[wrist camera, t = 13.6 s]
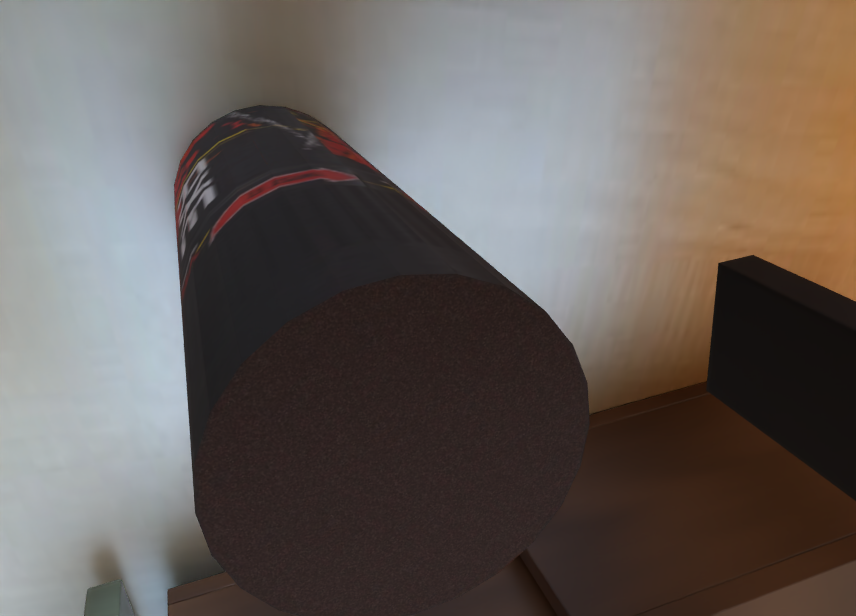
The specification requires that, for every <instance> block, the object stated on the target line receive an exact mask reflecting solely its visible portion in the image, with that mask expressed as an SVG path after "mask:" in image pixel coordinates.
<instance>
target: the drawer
mask: <svg viewBox="0 0 856 616" xmlns="http://www.w3.org/2000/svg"><path fill="white" fill-rule="evenodd" d="M167 594H168V616H297V615H293V614H290V613H286V612H282V611H278V610H277V609H275V608H273V607H272V606H270V605H268V604H266V603H265V602H263V601H261V600H260V599H258V598H256V597H255V596H253V595H251V594H249V593H248V592H246V591H244V590H243V589H241V588H240V587H239V586H238V585H237V584H236V583H235V581H234V580H233V579H232V578H231V577H230V576H229V575H228V573H227V572H223V573H220V574H217V575H214V576H210V577H207V578H204V579H200V580H197V581H194V582H190V583H187V584H184V585H181V586H177V587H174V588H171V589H168V591H167ZM84 616H135V615H134V612H133V609H132V607H131V604H130V601H129V598H128V596H127V593H126V590H125V588H124V585H123V582H122V580H121V579H119V580H116V581H113V582H109V583H106V584H102V585H99V586H96V587H92V588H89V589H87V594H86V602H85V611H84ZM410 616H557V614H556V612H555V611H554V609H553V608H552V606H551V604H550V603H549V601H548V600H547V598H546V597H545V595H544V593H543V592H542V590H541V589H540V587H539V585H538V584H537V582H536V581H535V579H534V577H533V576H532V574H531V573H530V571H529V570H528V568H527V566H526V565H525V563H524V562H523V560H522V558H521V557H520V555H518V556H517V557H516V558H515V559H514V560H513V561H512V562H511V563H509V564H508V565H507V566H506V567H505V568H504V569H503V570H502V571H501V572H499V573H498V574H496V575H495V576H493V577H491V578H490V579H488V580H486V581H485V582H483V583H481V584H480V585H478V586H477V587H475V588H473V589H472V590H470V591H468V592H467V593H465V594H463V595H462V596H460V597H458V598H456V599H453V600H451V601H448V602H445V603H443V604H440V605H438V606H435V607H433V608H430V609H428V610H425V611H422V612H420V613H417V614H415V615H410Z"/></svg>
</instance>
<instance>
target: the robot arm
mask: <svg viewBox="0 0 856 616" xmlns="http://www.w3.org/2000/svg"><path fill="white" fill-rule="evenodd" d="M706 391H708V392H709V393H710V394H712V395H713V396H715V397H716V398H717V399H719V400H720V401H721V402H723V403H724V404H725V405H727V406H728V407H729V408H731V409H732V410H733V411H735V412H736V413H737V414H739V415H740V416H742V417H743V418H744V419H746V420H747V421H748V422H750V423H751V424H752V425H754V426H755V427H756V428H758V429H759V430H760V431H762V432H763V433H764V434H766V435H767V436H768V437H770V438H771V439H773V440H774V441H775V442H777V443H778V444H779V445H781V446H782V447H783V448H785V449H786V450H787V451H789V452H790V453H791V454H793V455H794V456H795V457H797V458H798V459H800V460H801V461H802V462H804V463H805V464H806V465H808V466H809V467H810V468H812V469H813V470H814V471H816V472H817V473H818V474H820V475H821V476H822V477H824V478H825V479H826V480H828V481H829V482H831V483H832V484H833V485H835V486H836V487H837V488H839V489H840V490H841V491H843V492H844V493H845V494H847V495H848V496H849V497H851V498H852V499H853V500H855V501H856V301H853V300H851V299H849V298H847V297H845V296H842V295H840V294H838V293H836V292H834V291H831V290H829V289H827V288H825V287H823V286H820V285H818V284H816V283H814V282H812V281H809V280H807V279H805V278H803V277H800V276H798V275H796V274H794V273H792V272H789V271H787V270H785V269H783V268H781V267H778V266H776V265H774V264H772V263H770V262H767V261H765V260H763V259H761V258H759V257H756V256H754V255H751V256H747V257H742V258H738V259H734V260H730V261H725V262H721V263H718V274H717V284H716V294H715V305H714V315H713V326H712V336H711V346H710V357H709V367H708V377H707V388H706Z"/></svg>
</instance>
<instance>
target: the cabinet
mask: <svg viewBox="0 0 856 616" xmlns="http://www.w3.org/2000/svg"><path fill="white" fill-rule="evenodd" d="M706 388H707V382H704V383H700V384H697V385H693V386H690V387H686V388H683V389H679V390H676V391H672V392H669V393H665V394H662V395H658V396H655V397H651V398H648V399H644V400H641V401H637V402H634V403H630V404H627V405H623V406H619V407H616V408H612V409H609V410H605V411H602V412H598V413H595V414H591V415H589V423H590V425H589V429H588V434H587V439H586V443H585V448H584V453H583V457H582V462H581V466H580V468H579V470H578V472H577V474H576V476H575V479H574V481H573V483H572V485H571V487H570V489H569V491H568V493H567V495H566V497H565V499H564V502H563V504H562V506H561V507H560V508H559V510H558V511H557V512H556V514H555V515H554V516H553V517H552V519H551V520H550V521H549V523H548V524H547V525H546V527H545V528H544V529H543V531H542V532H541V533H540V534H539V536H538V537H537V538H536V540H535V541H534V542H533V543H532V544H531V545H530V546H529V547H527V548H526V549H525V550H524V551H523V552H522V553H521V554H520V557H521V558H522V560H523V562H524V563H525V565H526V566H527V568H528V570H529V571H530V573H531V574H532V576H533V577H534V579H535V581H536V582H537V584H538V585H539V587H540V589H541V590H542V592H543V593H544V595H545V597H546V598H547V600H548V601H549V603H550V604H551V606H552V608H553V609H554V611H555V612H556V614H557V616H856V501H855V500H853V499H852V498H851V497H849V496H848V495H847V494H845V493H844V492H843V491H841V490H840V489H839V488H837V487H836V486H835V485H833V484H832V483H831V482H829V481H828V480H826V479H825V478H824V477H822V476H821V475H820V474H818V473H817V472H816V471H814V470H813V469H812V468H810V467H809V466H808V465H806V464H805V463H804V462H802V461H801V460H800V459H798V458H797V457H795V456H794V455H793V454H791V453H790V452H789V451H787V450H786V449H785V448H783V447H782V446H781V445H779V444H778V443H777V442H775V441H774V440H773V439H771V438H770V437H768V436H767V435H766V434H764V433H763V432H762V431H760V430H759V429H758V428H756V427H755V426H754V425H752V424H751V423H750V422H748V421H747V420H746V419H744V418H743V417H742V416H740V415H739V414H737V413H736V412H735V411H733V410H732V409H731V408H729V407H728V406H727V405H725V404H724V403H723V402H721V401H720V400H719V399H717V398H716V397H715V396H713V395H712V394H710V393H709V392H708V391H706Z"/></svg>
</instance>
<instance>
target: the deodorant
mask: <svg viewBox="0 0 856 616" xmlns="http://www.w3.org/2000/svg"><path fill="white" fill-rule="evenodd" d="M174 195H175V218H176V233H177V248H178V262H179V277H180V292H181V307H182V322H183V337H184V352H185V367H186V382H187V397H188V411H189V426H190V441H191V456H192V471H193V486H194V501H195V514H196V516H197V519H198V521H199V524H200V527H201V529H202V532H203V534H204V537H205V539H206V542H207V544H208V547H209V550H210V552H211V555H212V556H213V557H214V559H215V560H216V561H217V562H218V563H219V564H220V565H221V567H222V568H223V569H224V570H225V571H226V572H227V573H228V575H229V576H230V577H231V578H232V579H233V580H234V581H235V583H236V584H237V585H238V586H239V587H240V588H241V589H243V590H244V591H246V592H248V593H249V594H251V595H253V596H255V597H256V598H258V599H260V600H261V601H263V602H265V603H266V604H268V605H270V606H272V607H273V608H275V609H277V610H278V611H282V612H286V613H290V614H293V615H297V616H410V615H415V614H417V613H420V612H422V611H425V610H428V609H430V608H433V607H435V606H438V605H440V604H443V603H445V602H448V601H451V600H453V599H456V598H458V597H460V596H462V595H463V594H465V593H467V592H468V591H470V590H472V589H473V588H475V587H477V586H478V585H480V584H481V583H483V582H485V581H486V580H488V579H490V578H491V577H493V576H495V575H496V574H498V573H499V572H501V571H502V570H503V569H504V568H505V567H506V566H507V565H508V564H509V563H511V562H512V561H513V560H514V559H515V558H516V557H517V556H518V555H520V554H521V553H522V552H523V551H524V550H525V549H526V548H527V547H529V546H530V545H531V544H532V543H533V542H534V541H535V540H536V538H537V537H538V536H539V534H540V533H541V532H542V531H543V529H544V528H545V527H546V525H547V524H548V523H549V521H550V520H551V519H552V517H553V516H554V515H555V514H556V512H557V511H558V510H559V508H560V507H561V506H562V504H563V502H564V499H565V497H566V495H567V493H568V491H569V489H570V487H571V485H572V483H573V481H574V479H575V476H576V474H577V472H578V470H579V468H580V466H581V462H582V457H583V453H584V448H585V443H586V439H587V434H588V429H589V425H590V423H589V405H588V387H587V381H586V378H585V376H584V373H583V370H582V368H581V365H580V362H579V360H578V357H577V354H576V352H575V349H574V347H573V344H572V343H571V342H570V341H569V340H568V338H567V337H566V336H565V335H564V333H563V332H562V331H561V330H560V328H559V327H558V326H557V325H556V323H555V322H554V321H553V320H552V319H551V317H550V316H549V315H548V314H547V312H546V311H545V310H543V309H542V308H541V307H540V306H539V305H538V304H536V303H535V302H534V301H533V300H532V299H530V298H529V297H528V296H527V295H526V294H525V293H523V292H522V291H521V290H520V289H519V288H517V287H516V286H515V285H514V284H513V283H511V282H510V281H509V280H508V279H507V278H506V277H504V276H503V275H502V274H501V273H500V272H498V271H497V270H496V269H495V268H494V267H493V266H491V265H490V264H489V263H488V262H487V261H485V260H484V259H483V258H482V257H481V256H479V255H478V254H477V253H476V252H475V251H474V250H472V249H471V248H470V247H469V246H468V245H466V244H465V243H464V242H463V241H462V240H461V239H459V238H458V237H457V236H456V235H455V234H453V233H452V232H451V231H450V230H449V229H447V228H446V227H445V226H444V225H443V224H442V223H440V222H439V221H438V220H437V219H436V218H434V217H433V216H432V215H431V214H430V213H429V212H427V211H426V210H425V209H424V208H423V207H421V206H420V205H419V204H418V203H417V202H416V201H414V200H413V199H412V198H411V197H410V196H408V195H407V194H406V193H405V192H404V191H402V190H401V189H400V188H399V187H398V186H397V185H395V184H394V183H393V182H392V181H391V180H389V179H388V178H387V177H386V176H385V175H384V174H382V173H381V172H380V171H379V170H378V169H376V168H375V167H374V166H373V165H372V164H370V163H369V162H368V161H367V160H366V159H365V158H363V157H362V156H361V155H360V154H359V153H357V152H356V151H355V150H354V149H353V148H352V147H350V146H349V145H348V144H347V143H346V142H344V141H343V140H342V139H341V138H340V137H339V136H337V135H336V134H335V133H334V132H333V131H331V130H330V129H329V128H328V127H326V126H325V125H323V124H322V123H320V122H319V121H317V120H315V119H314V118H312V117H311V116H309V115H307V114H304V113H301V112H298V111H295V110H292V109H289V108H286V107H276V106H255V107H250V108H245V109H241V110H236V111H233V112H231V113H229V114H227V115H225V116H223V117H222V118H220V119H218V120H216V121H214V122H212V123H211V124H210V125H209V126H208V127H206V128H205V129H204V130H203V131H202V132H201V133H200V134H199V135H198V136H197V137H196V138H195V139H194V140H193V141H192V143H191V144H190V146H189V148H188V149H187V151H186V153H185V154H184V156H183V158H182V159H181V161H180V165H179V168H178V172H177V176H176V180H175V184H174Z"/></svg>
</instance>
